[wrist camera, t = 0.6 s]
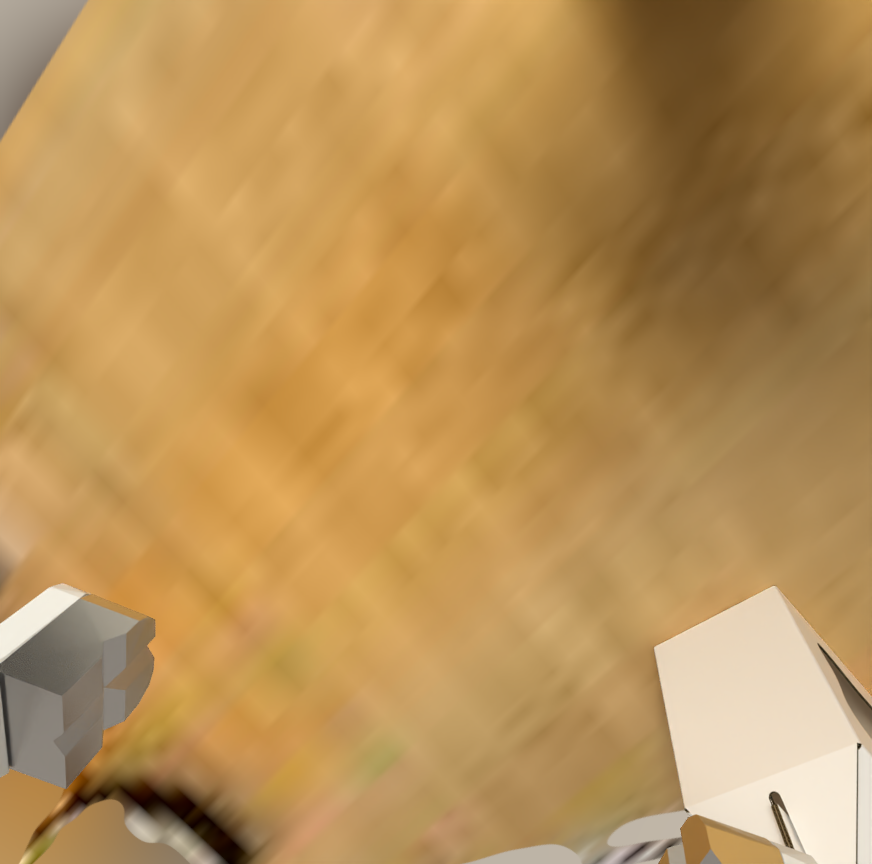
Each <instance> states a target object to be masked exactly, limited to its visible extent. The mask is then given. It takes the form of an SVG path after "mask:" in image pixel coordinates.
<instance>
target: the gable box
mask: <svg viewBox="0 0 872 864" xmlns="http://www.w3.org/2000/svg"><path fill="white" fill-rule="evenodd" d="M654 653H655V658H656V663H657V669H658V674H659V679H660V684H661V689H662V695H663V700H664V705H665V710H666V715H667V721H668V726H669V731H670V736H671V741H672V747H673V752H674V757H675V762H676V767H677V773H678V778H679V783H680V788H681V794H682V799H683V804H684V809H685V811H686V812H687V813H688V814H689V815H690V816H693V815H696V814H697V815H700V816H703V817H706V818H709V819H712V820H714V821H717V822H720V823H723V824H726V825H729V826H732V827H735V828H737V829H740V830H743V831H746V832H749V833H752V834H755V835H758V836H760V837H763V838H766V839H767V840H769V841H772V842H775V843H778V844H781V845H783V846H786V847H789V848H792V849H794V850H797V851H800V852H803V853H805V854H808V855H811V856H812V857H813V858H814V860H815V861H816V862H817V864H872V696H871V695H870V694H869V693H868V692H867V691H866V689H865V688H864V687H863V686H862V685H861V684H860V682H859V681H858V680H857V679H856V678H855V677H854V675H853V674H852V673H851V672H850V671H849V670H848V669H847V667H846V666H845V665H844V664H843V663H842V662H841V660H840V659H839V658H838V657H837V656H836V655H835V653H834V652H833V651H832V650H831V649H830V648H829V647H828V645H827V644H826V643H825V642H824V641H823V640H822V638H821V637H820V636H819V635H818V634H817V633H816V631H815V630H814V629H813V628H812V627H811V626H810V625H809V623H808V622H807V621H806V620H805V619H804V618H803V616H802V615H801V614H800V613H799V612H798V611H797V609H796V608H795V607H794V606H793V605H792V604H791V603H790V601H789V600H788V599H787V598H786V597H785V596H784V594H783V593H782V592H781V591H780V590H779V589H778V587H777V586H772V587H770V588H768V589H766V590H764V591H762V592H760V593H758V594H756V595H754V596H752V597H750V598H748V599H747V600H745V601H743V602H741V603H739V604H737V605H735V606H733V607H731V608H729V609H727V610H725V611H723V612H721V613H719V614H717V615H715V616H713V617H712V618H710V619H708V620H706V621H704V622H702V623H700V624H698V625H696V626H694V627H692V628H690V629H688V630H686V631H684V632H682V633H680V634H679V635H677V636H675V637H673V638H671V639H669V640H667V641H665V642H663V643H661V644H659V645H657V646H655V647H654ZM770 799H771V800H770ZM771 801H772V802H771ZM772 803H773V805H772Z"/></svg>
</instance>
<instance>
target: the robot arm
mask: <svg viewBox="0 0 872 864" xmlns="http://www.w3.org/2000/svg"><path fill="white" fill-rule="evenodd" d="M154 637H155V619H153V618H151V617H149V616H146V615H144V614H141V613H139V612H136V611H133V610H131V609H128V608H126V607H123V606H121V605H118V604H116V603H113V602H111V601H108V600H106V599H103V598H101V597H98V596H96V595H93V594H90V593H87V592H85V591H82V590H80V589H77V588H74V587H72V586H69V585H66V584H64V583H62V584H59V585H55V586H52V587H50V588H48V589H47V590H45V591H44V592H43V593H41V594H40V595H38V596H37V597H36V598H34V599H33V600H32V601H30V602H29V603H28V604H26V605H25V606H24V607H22V608H21V609H20V610H18V611H17V612H16V613H14V614H13V615H12V616H10V617H9V618H7V619H6V620H5V621H3V622H2V623H1V624H0V777H2V776H4V775H6V774H8V772H9V768H10V769H12V770H15V771H18V772H21V773H23V774H26V775H29V776H32V777H35V778H38V779H40V780H43V781H45V782H48V783H51V784H54V785H56V786H59V787H62V788H65V789H67V787H68V786H69V785H70V784H71V783H72V782H73V780H74V779H75V778H76V777H77V776H78V775H79V773H80V772H81V771H82V770H83V769H84V768H85V766H86V765H87V764H88V763H89V762H90V761H91V760H92V758H93V757H94V756H95V755H96V754H97V753H98V751H99V750H100V749H101V748H102V744H103V734H104V730H105V729H107V728H110V727H112V726H114V725H116V724H119V723H121V722H123V721H125V720H126V718H127V717H128V716H129V715H130V714H131V712H132V711H133V710H134V709H135V708H136V706H137V705H138V704H139V702H140V700H141V698H142V697H143V695H144V693H145V691H146V689H147V688H148V686H149V683H150V680H151V677H152V673H153V670H154V657H153V655H152V653H151V652H150V650H149V648H148V647H147V645H148V644H149V643H150V641H151V640H152V639H153V638H154ZM680 830H681V836H682V842H683V843H682V844H679V845H676V846H673V847H670V848H667V850H666V851H665V853H664V855H663V856H662V858H661V860H660V861H659V863H658V864H817V862H816V861H815V860H814V858H813V857H812V856H811V855H808V854H805V853H803V852H800V851H797V850H794V849H792V848H789V847H786V846H783V845H781V844H778V843H775V842H772V841H769V840H767V839H766V838H763V837H760V836H758V835H755V834H752V833H749V832H746V831H743V830H740V829H737V828H735V827H732V826H729V825H726V824H723V823H720V822H717V821H714V820H712V819H709V818H706V817H703V816H700V815H697V814H696V815H693V816H691V817H688V819H687V820H686V822H685V823H684V824H683V826H682V827H681V828H680Z"/></svg>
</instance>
